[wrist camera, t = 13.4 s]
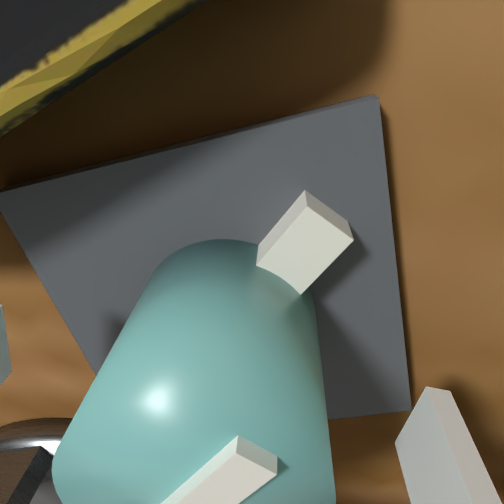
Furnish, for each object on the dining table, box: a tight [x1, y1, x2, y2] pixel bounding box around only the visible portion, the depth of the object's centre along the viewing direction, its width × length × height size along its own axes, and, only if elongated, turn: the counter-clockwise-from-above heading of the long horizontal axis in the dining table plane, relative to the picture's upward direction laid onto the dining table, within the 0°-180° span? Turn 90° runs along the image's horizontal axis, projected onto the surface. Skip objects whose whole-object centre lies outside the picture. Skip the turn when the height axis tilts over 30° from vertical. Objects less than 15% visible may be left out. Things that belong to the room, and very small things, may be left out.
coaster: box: [0, 94, 412, 420], centre depth 16 cm, size 13×13×1 cm
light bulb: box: [52, 190, 354, 504], centre depth 12 cm, size 11×7×7 cm, turn 144°
